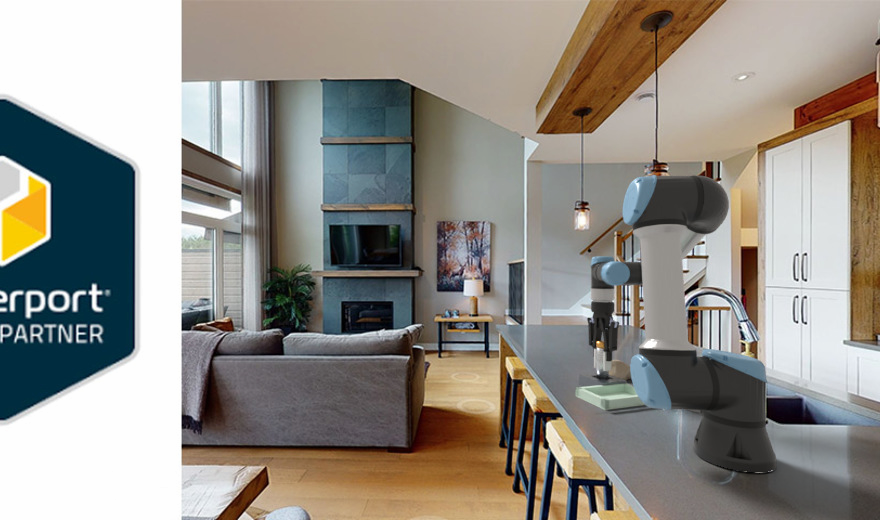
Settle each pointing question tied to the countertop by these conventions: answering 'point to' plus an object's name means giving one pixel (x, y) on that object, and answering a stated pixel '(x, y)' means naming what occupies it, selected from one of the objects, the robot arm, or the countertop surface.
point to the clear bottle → (600, 361)
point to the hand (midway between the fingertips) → (602, 368)
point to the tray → (610, 396)
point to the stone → (620, 370)
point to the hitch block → (598, 380)
